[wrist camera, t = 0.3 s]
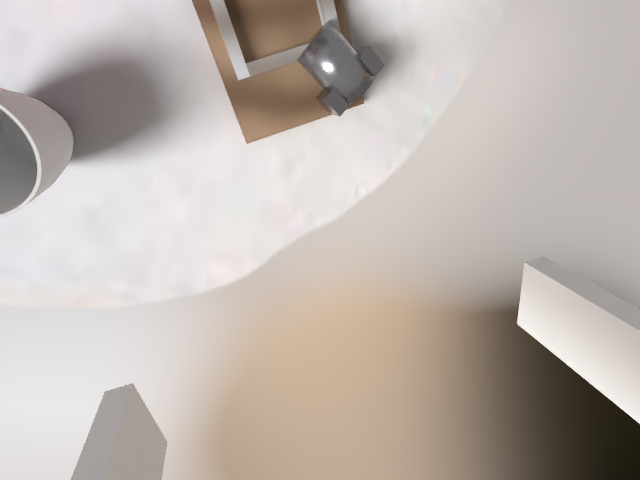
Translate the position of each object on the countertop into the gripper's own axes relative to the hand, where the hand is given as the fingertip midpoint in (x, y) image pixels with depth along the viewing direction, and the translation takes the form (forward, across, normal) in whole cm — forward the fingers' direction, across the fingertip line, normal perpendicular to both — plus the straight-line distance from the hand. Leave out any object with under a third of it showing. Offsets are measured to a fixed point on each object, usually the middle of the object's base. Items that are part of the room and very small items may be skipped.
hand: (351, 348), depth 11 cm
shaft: (+25, +8, +8) cm, 28 cm away
